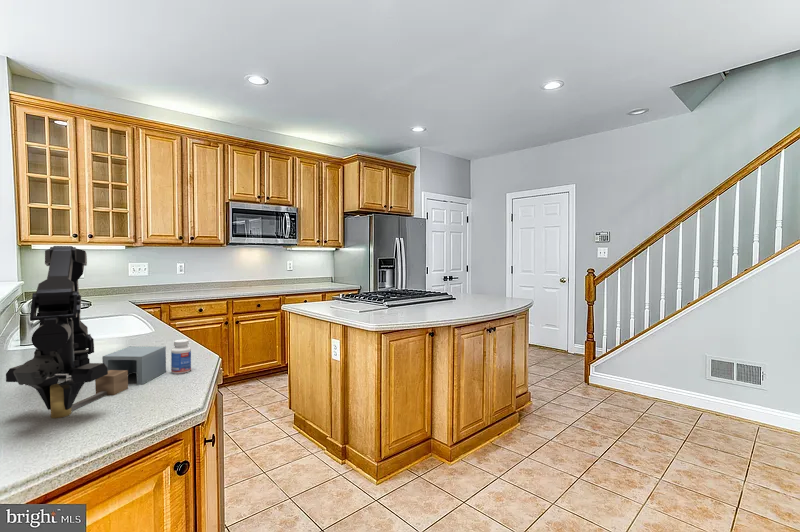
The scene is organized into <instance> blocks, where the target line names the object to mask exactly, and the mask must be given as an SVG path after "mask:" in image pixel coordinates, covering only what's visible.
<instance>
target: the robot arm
mask: <svg viewBox="0 0 800 532" xmlns="http://www.w3.org/2000/svg"><path fill="white" fill-rule="evenodd" d="M87 257H88V255H87V252H86V250H84V249H80V248H76V247H75V246H71V245H54V246H50V248H49V249H45V250H44V265H46V267H48V272H47V277H46V279H45V280H43V281H41V282H40V283H37V284H38V285H37V288H36V292H32V297H31V304H30V305H31V307H30V315H29V321H30V322H31V321H39V326H38V327H37V328H36V330H35V331H34V332H33V333H32V336H31V343H32V345H33V346H34V348H35V350H34V352H33V358H31V359H29V360H27V361H25V362H24V363H23V364H20V365H19V364H18V365H16V366H14V367H13V366H12V367H10V368H9V369H8V370H7V371H6V373H5V382H6V383H18V385H19V386H23V385H25V386H29V387H31V388H33V389H35V390H36V391H37V393H38V394H39V396H40V398H41V400H42V401H43V403H44V405H45V408H46V409H47V410H48V411H49V410H50V411H51V405H50V386H51V385H54V384H58V383H59V385H60V386H61V387H62V388H63V391H64V406H65V410H68V409H70V408H71V406H72V405H73V404H75V400H76V398H77V397H78V395H79V393H80V392H81V389H82V387H83V386H84V384H85V383H90V382H95V380H96V379H98V378H100V377H103V376H105V375H107V374H108V367H107V366H106V365H105V364H104V363H103V362H90V361H91V360H90V358H89V355H91V354H94V353H95V341H94V340H95V339H94V338H93V337H92V335H91V333H88V332H89V331H88V326H87V325H86V324H85V323H84V322H82V319H81V308H82V295H81V294H80V289H79V280H80V278H81V277H82V276H83V274H84V270H85V267H87V265H88V258H87ZM64 378H65V381H62V382H59V379H64Z"/></svg>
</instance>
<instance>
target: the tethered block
mask: <svg viewBox="0 0 800 532" xmlns="http://www.w3.org/2000/svg"><path fill="white" fill-rule="evenodd" d="M94 382H95V385H94V387H95V394H93V395H90V396H88V397H86V398H84V399H82V400H80V401H77V402H74V403H73V405H72V406H71V408H70V409H68V410H65V406H64V391H63V388H62V387H61V386H60V385H59V383H60V382H58V384H54V385H51V386H50V405H51V410H50V418H51V419H60V418H64V417H68V416H70V415H71V414H72V412H73V411H76V410H78V409H80V408H82V407H84V406H86V405H88V404H91V403H93V402H95V401H97V400H99V399H102V398H103V397H106V396H115V395H117V394H119V393H121V392H123V391H126V390H128V389H129V375H128V370H109V371H108V374H107V375H105V376H103V377H100V378H98V379H96V380H94Z"/></svg>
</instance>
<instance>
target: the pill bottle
mask: <svg viewBox="0 0 800 532" xmlns="http://www.w3.org/2000/svg"><path fill="white" fill-rule="evenodd" d="M189 342H190V341H189V339H185V338H184V339H176V340H174V341H173V348H172V349H171V352H170V356H171V357H170V360H171V363H170V364H171V365H170V366H171V368H170V369H171V370H170V371H171V374H176V375H179V374H185V373H189V372H191V369H192V348H191V347H190V346H189Z"/></svg>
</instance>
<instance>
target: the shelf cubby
mask: <svg viewBox="0 0 800 532" xmlns="http://www.w3.org/2000/svg"><path fill="white" fill-rule="evenodd" d="M166 349H167V347H166V345H165V346H160V345H159V346H156V345H155V346H148V345H146V346H143V345H142V346H141V345H139V346H137V345H136V346H134V345H133V346H132V345H131V346H130V345H129V346H126V347H125V348H122V349H119V350H116V351H113V352H110V353H107V354H104V355H102V359H101V360H102V363H104V364H105V365H106V366H107V367H108V371H109V370H128V376H129V375H131V374H136V386H137V385H144V384H146V383H147V382H150V381H152V380H153V379H156V378H157V377H159V376H161V375H163V374H165V373H166V372H167V352H166V351H167V350H166Z"/></svg>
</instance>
